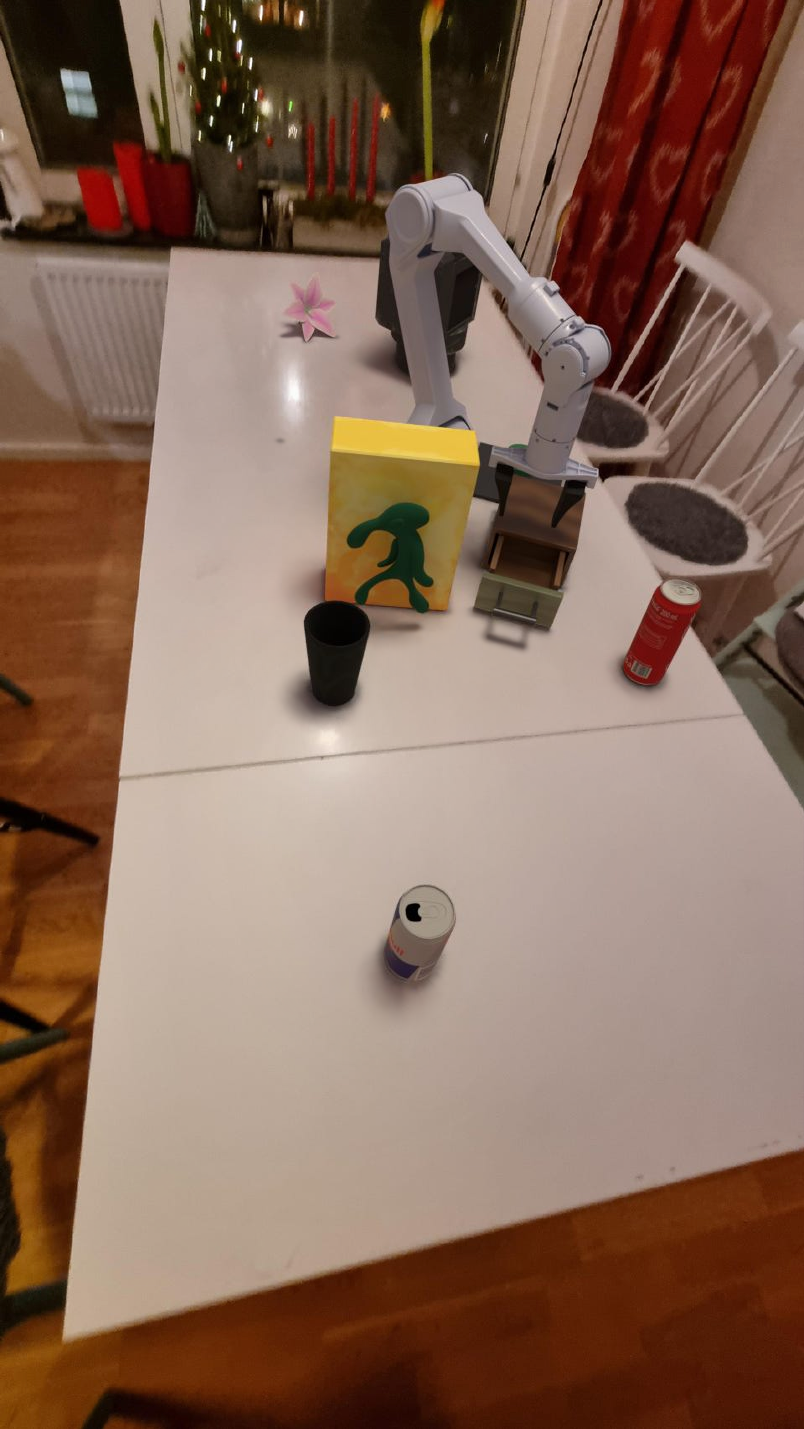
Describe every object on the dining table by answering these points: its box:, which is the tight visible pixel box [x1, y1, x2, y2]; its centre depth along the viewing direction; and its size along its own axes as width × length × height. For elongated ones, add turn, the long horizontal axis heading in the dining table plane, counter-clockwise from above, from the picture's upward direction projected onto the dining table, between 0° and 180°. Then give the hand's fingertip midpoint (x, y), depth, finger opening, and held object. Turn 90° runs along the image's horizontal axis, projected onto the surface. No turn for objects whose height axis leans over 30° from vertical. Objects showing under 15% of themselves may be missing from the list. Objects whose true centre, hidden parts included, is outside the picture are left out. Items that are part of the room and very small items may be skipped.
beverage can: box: [622, 576, 703, 686], centre depth 91 cm, size 6×6×15 cm
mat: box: [473, 441, 563, 504], centre depth 122 cm, size 16×16×1 cm
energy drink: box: [383, 883, 457, 983], centre depth 65 cm, size 5×5×12 cm
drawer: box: [473, 534, 566, 628], centre depth 100 cm, size 18×11×6 cm, turn 165°
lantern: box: [374, 183, 484, 376], centre depth 131 cm, size 15×18×30 cm
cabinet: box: [481, 474, 587, 589], centre depth 108 cm, size 15×13×8 cm
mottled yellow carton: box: [324, 415, 480, 615], centre depth 90 cm, size 18×12×24 cm
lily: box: [282, 271, 337, 342], centre depth 144 cm, size 12×12×10 cm
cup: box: [303, 600, 372, 707], centre depth 84 cm, size 8×8×12 cm
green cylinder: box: [507, 443, 530, 478], centre depth 120 cm, size 5×5×5 cm
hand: (527, 518), depth 100 cm, fingers open, 7 cm apart
